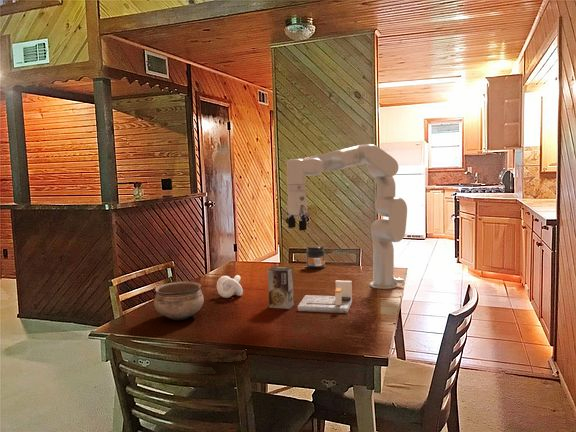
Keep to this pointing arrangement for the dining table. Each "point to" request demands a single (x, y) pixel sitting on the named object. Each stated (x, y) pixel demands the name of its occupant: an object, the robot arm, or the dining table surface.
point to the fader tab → (338, 296)
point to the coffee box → (280, 287)
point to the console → (323, 304)
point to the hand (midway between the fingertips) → (297, 228)
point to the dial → (345, 288)
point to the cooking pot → (178, 299)
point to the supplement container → (315, 257)
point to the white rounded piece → (229, 286)
